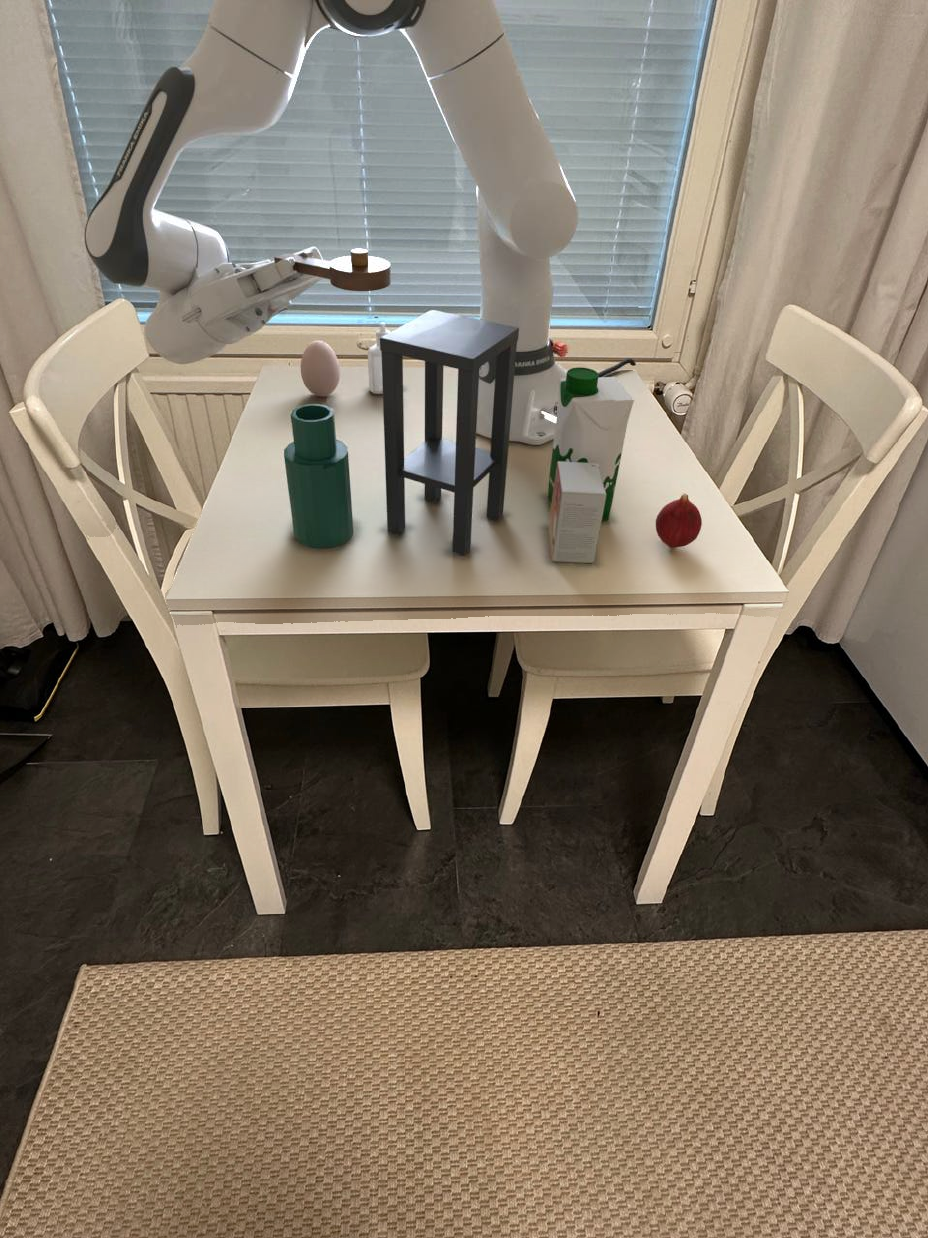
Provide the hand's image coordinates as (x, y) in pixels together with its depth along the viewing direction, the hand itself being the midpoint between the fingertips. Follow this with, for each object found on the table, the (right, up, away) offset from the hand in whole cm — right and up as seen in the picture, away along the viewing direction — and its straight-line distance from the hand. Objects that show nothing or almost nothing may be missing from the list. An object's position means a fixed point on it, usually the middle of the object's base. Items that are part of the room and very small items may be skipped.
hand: (302, 260), depth 90 cm
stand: (+17, -30, +14) cm, 37 cm away
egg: (-6, -3, +45) cm, 46 cm away
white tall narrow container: (+5, -1, +48) cm, 48 cm away
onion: (+47, -33, +12) cm, 59 cm away
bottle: (0, -31, +11) cm, 33 cm away
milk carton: (+36, -27, +18) cm, 48 cm away
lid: (+4, -2, -1) cm, 4 cm away
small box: (+33, -33, +11) cm, 49 cm away
